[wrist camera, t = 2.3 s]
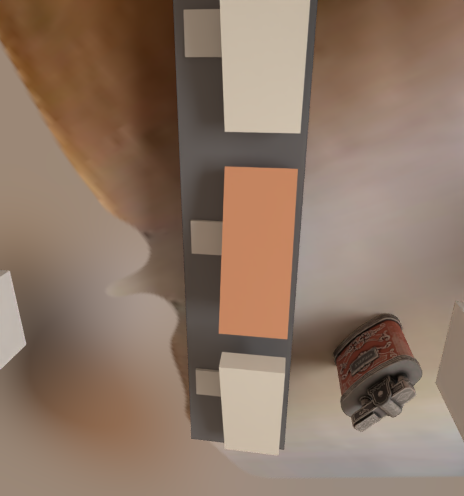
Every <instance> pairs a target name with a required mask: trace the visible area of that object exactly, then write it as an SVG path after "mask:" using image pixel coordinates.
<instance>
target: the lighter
mask: <svg viewBox="0 0 464 496" xmlns="http://www.w3.org/2000/svg"><path fill="white" fill-rule="evenodd" d="M402 330H403V328H402V325H401V323H400V321H399V319H398V318H397V317H396V316H394V315H392V314H382V315H380V316H378V317H376V318H374V319H372V320H370V321H368V322H367V323H365V324H364V325H362V326H361V327H359V328H358V329H356V330H355V331H354V332H353V333H352V334H350V335H349V336H348V337H347V338H346V339H345V340H344V341H343V342H342V343H341V344H340V345H339V347H338V348H337V349H336V350H335V352H334V362H335V364H336V366H337V370H338V376H339V382H340V389H341V395H342V396H341V401H340V402H341V408H342V410H343V412H344V413H345V414H346V415H348V416H349V417H351V419H352V424H353V427H354V428H355V429H356V430H358V431H360V432H363V431H364V430H366V429H367V428H369V427H371V426H372V425H374V424H375V423H377V422H378V421H380V420H381V419H382V418H384V417H385V416H391V417H396V416H397V415H399V414H400V413H401V411H402V408H403V406H404V404H405V403H407V402H408V401H410V400H411V399H413V398H414V397H415V396H416V392H415V389H414V387H413V386H414V385H415V384H416V383H417V382H418V381H419V380H420V378H421V377H422V370H421V367H420V365H419V363H418V361H417V360H416V359H415V358H414V357H413V354H412V352H411V350H410V348H409V345H408V343H407V341H406V339H405V337H404V334H403V332H402Z"/></svg>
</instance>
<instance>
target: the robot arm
mask: <svg viewBox="0 0 464 496" xmlns="http://www.w3.org/2000/svg"><path fill="white" fill-rule="evenodd" d="M25 345H26V341H25V337H24V332H23V328H22V323H21V319H20V315H19V310H18V305H17V301H16V297H15V292H14V287H13V283H12V279H11V274H10V271H9V270H0V369H1V368H2V367H4V366H5V364H6V363H8V362H9V361H10V360H11V359H12V357H14V356H15V355H16V354H17V353H18V352H19V351H20V350H21V349H22V348H23V347H24V346H25ZM436 385H437V387H438V389H439V391H440V393H441V395H442V397H443V399H444V401H445V403H446V405H447V408H448V410H449V412H450V414H451V416H452V418H453V420H454V422H455V424H456V426H457V428H458V430H459V432H460V434H461V437H462V439H463V441H464V302H459V301H455V305H454V309H453V313H452V317H451V321H450V325H449V329H448V333H447V338H446V342H445V346H444V350H443V354H442V358H441V362H440V366H439V370H438V374H437V379H436Z"/></svg>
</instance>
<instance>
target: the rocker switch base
mask: <svg viewBox="0 0 464 496" xmlns="http://www.w3.org/2000/svg"><path fill="white" fill-rule="evenodd" d="M317 1H318V0H310V10H309V24H308V37H307V51H306V64H305V78H304V91H303V104H302V118H301V131H300V133H258V132H225V125H224V99H223V73H222V47H221V21H220V0H173V11H174V34H175V58H176V82H177V106H178V130H179V154H180V178H181V202H182V226H183V249H184V273H185V297H186V321H187V345H188V369H189V393H190V417H191V438H192V439H199V440H207V441H215V442H223V443H224V430H223V417H222V403H221V389H220V375H219V364H220V359H221V354H222V352H229V353H240V354H251V355H262V356H273V357H284V358H286V361H285V380H284V393H283V405H282V418H281V430H280V443H279V449H282V450H284V444H285V431H286V417H287V404H288V391H289V377H290V364H291V350H292V337H293V324H294V310H295V297H296V283H297V270H298V256H299V243H300V230H301V216H302V203H303V189H304V176H305V163H306V149H307V136H308V122H309V109H310V95H311V82H312V69H313V55H314V42H315V28H316V15H317ZM225 166H226V167H257V168H288V169H298V176H297V192H296V208H295V225H294V241H293V257H292V273H291V289H290V306H289V322H288V338H287V339H277V338H265V337H253V336H242V335H230V334H219V311H220V284H221V256H222V229H223V201H224V174H225Z"/></svg>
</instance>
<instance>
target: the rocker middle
mask: <svg viewBox="0 0 464 496" xmlns="http://www.w3.org/2000/svg"><path fill="white" fill-rule="evenodd" d="M297 176H298V169H288V168H257V167H226V166H225V174H224V201H223V229H222V256H221V284H220V311H219V334H230V335H242V336H253V337H265V338H277V339H287V338H288V322H289V306H290V289H291V273H292V257H293V241H294V225H295V208H296V192H297Z"/></svg>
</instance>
